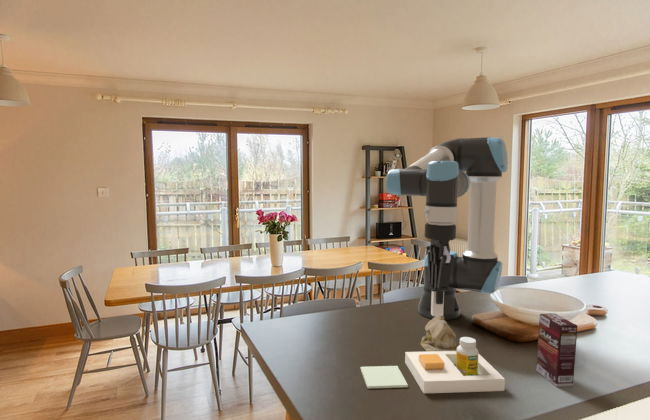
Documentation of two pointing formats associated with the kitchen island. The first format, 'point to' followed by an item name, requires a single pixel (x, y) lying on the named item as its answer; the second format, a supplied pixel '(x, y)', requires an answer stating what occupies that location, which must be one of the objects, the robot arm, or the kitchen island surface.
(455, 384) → the frame
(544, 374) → the supplement box
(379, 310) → the kitchen island surface
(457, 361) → the supplement bottle
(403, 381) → the mat
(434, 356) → the orange sticky note pad
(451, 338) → the ceramic model
